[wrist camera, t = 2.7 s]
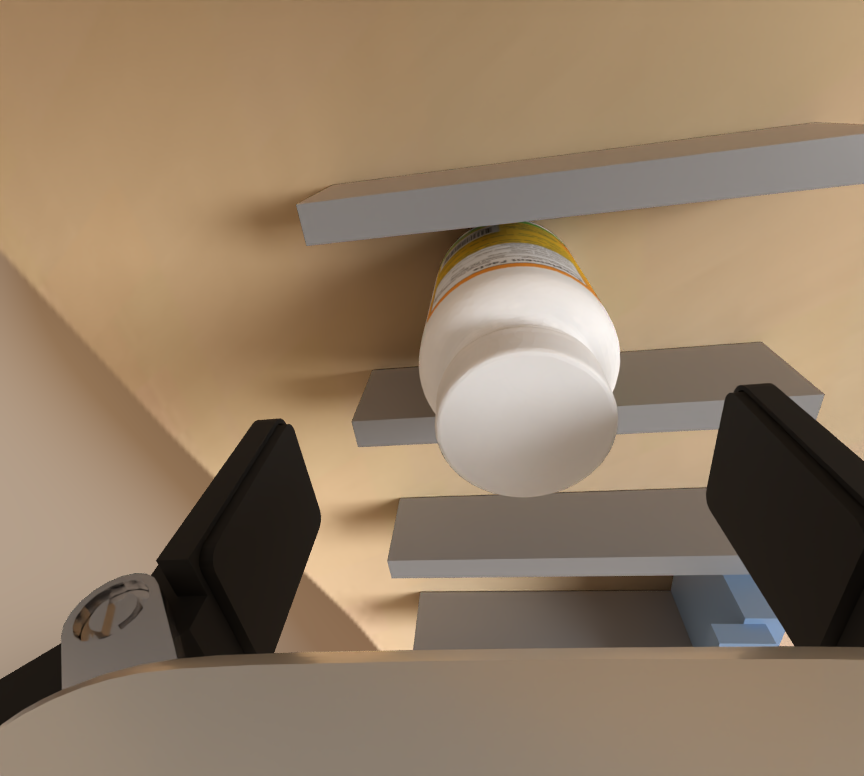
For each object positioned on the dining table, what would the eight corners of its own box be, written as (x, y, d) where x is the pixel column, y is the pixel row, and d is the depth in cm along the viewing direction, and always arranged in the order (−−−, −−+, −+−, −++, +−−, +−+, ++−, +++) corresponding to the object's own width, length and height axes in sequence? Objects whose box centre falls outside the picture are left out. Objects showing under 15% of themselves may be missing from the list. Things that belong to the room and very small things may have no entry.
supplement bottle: (547, 360, 20) (596, 540, 12) (424, 332, 20) (385, 494, 12) (597, 234, 17) (705, 353, 9) (454, 199, 17) (430, 288, 9)
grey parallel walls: (332, 184, 17) (257, 225, 11) (816, 122, 15) (1029, 132, 9) (422, 604, 29) (408, 727, 24) (697, 603, 27) (757, 739, 21)
